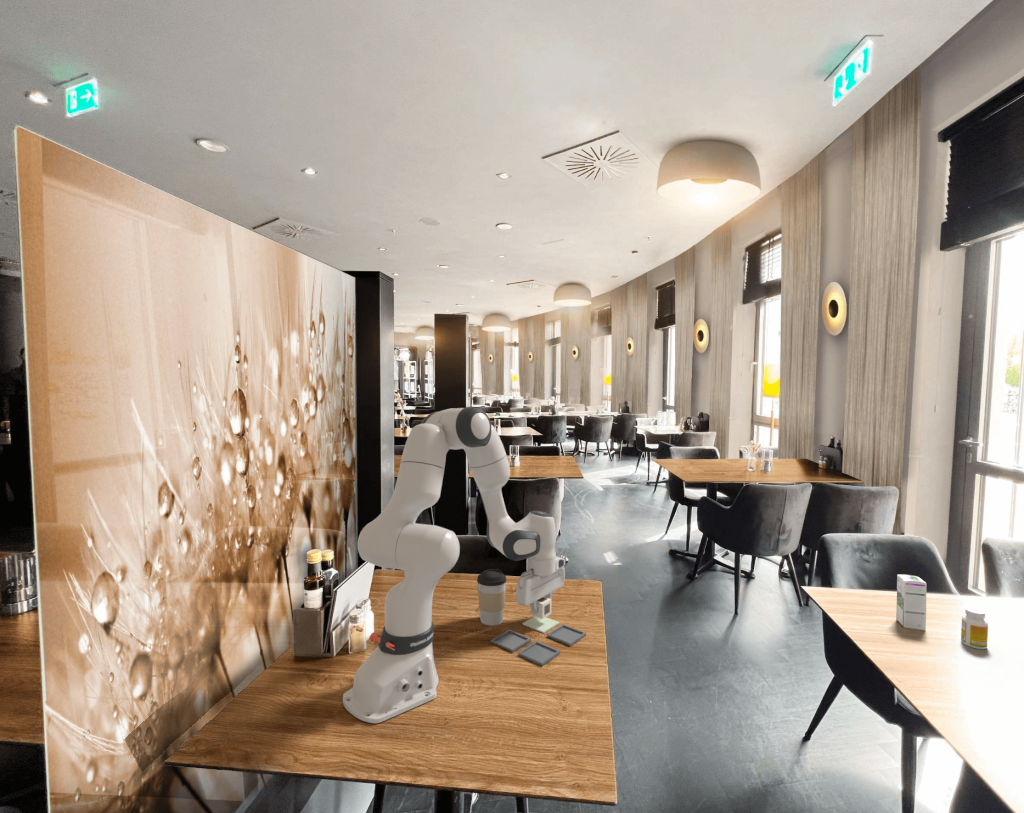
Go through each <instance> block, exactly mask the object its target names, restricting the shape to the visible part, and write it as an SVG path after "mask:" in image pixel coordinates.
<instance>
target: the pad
mask: <svg viewBox="0 0 1024 813" xmlns="http://www.w3.org/2000/svg"><path fill="white" fill-rule="evenodd" d="M522 625H523V626H524V627H527V628H530V629H532V630H534V631H537V632H540V633H542V634H545V633H546V632H549V631H550V630H552V629H553V628H555V627H556V626H558V625H560V622H559V621H558V620H554V619H552V618H549V617H548V616H547V617H545V618H544V619H541V618H538V617H536V616H533V617H532V618H530V619H528V620H525V621H524V622H522Z"/></svg>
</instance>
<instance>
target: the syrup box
mask: <svg viewBox="0 0 1024 813" xmlns="http://www.w3.org/2000/svg"><path fill="white" fill-rule="evenodd" d="M896 578H897V579H896V612H895V613H896V621H898V623H899V624H900V625H901V627H903V628H906V629H910V630H917V631H926V629H927V628H926V626H927V582H926V581H924V580H923V579H922V578H920V577H919V576H917V575H912V574H897V575H896Z"/></svg>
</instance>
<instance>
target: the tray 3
mask: <svg viewBox="0 0 1024 813" xmlns="http://www.w3.org/2000/svg"><path fill="white" fill-rule="evenodd" d="M586 636H587V632H585V631H583V630H580V629H578V628H577V629H576V628H574V627H573V626H569V625H568V624H564V623H563V624H561V625H559V626H558V627H557V628H554V629H553V630H552V631H550V632H549V633H547V635H546V637H547V638H549V639H552V640H554V641H557V642H559V643H562V644H564V645H567V646H569V647H572V646H573V645H575V644H576V643H577V642H579V641H581V640H582V639H583V638H585V637H586Z"/></svg>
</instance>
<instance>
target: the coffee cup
mask: <svg viewBox="0 0 1024 813" xmlns="http://www.w3.org/2000/svg"><path fill="white" fill-rule="evenodd" d="M476 583H477V596H478V608H479V617H480V623H481V624H483V625H486V626H492V627H493V626H499V625H501V624H502V623H503V620H504V611H505V610H504V609H505V605H506V604H505V602H506V589H507V588H506V583H507V577H506V575H505V574H504V573H503V572H502V570H501V569H499V568H493V569H486V570H483V571H481V572H480V573H479V575H477V579H476Z"/></svg>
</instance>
